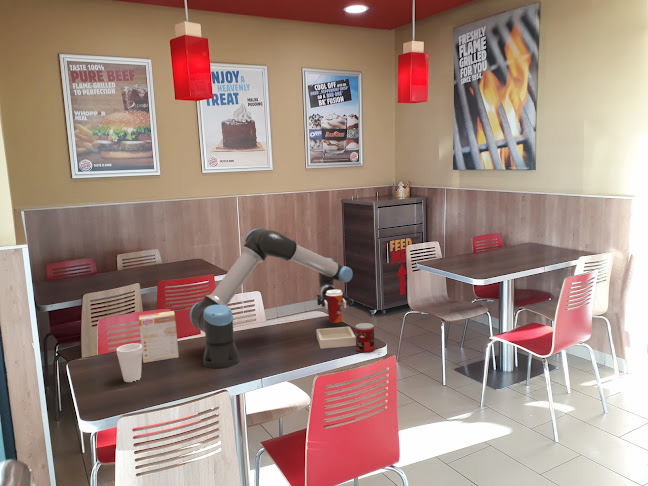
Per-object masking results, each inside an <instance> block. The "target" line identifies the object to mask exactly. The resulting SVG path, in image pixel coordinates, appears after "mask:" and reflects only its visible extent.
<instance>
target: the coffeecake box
mask: <svg viewBox="0 0 648 486" xmlns="http://www.w3.org/2000/svg"><path fill="white" fill-rule="evenodd" d="M176 322H177V320H176V314H175V311H174V310H172V311H171V310H170V311H163V312H156V313H149V314H140V315H139V316H138V323H139V335H140V344H141V345H142V350H143V351H142V363H150V362H156V361H157V362H158V361H164V360H169V359H170V360H171V359H177V358H179V357H180V356H179V346H178V345H179V344H178V332H177V323H176Z"/></svg>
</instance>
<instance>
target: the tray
mask: <svg viewBox="0 0 648 486" xmlns="http://www.w3.org/2000/svg"><path fill="white" fill-rule="evenodd" d="M315 333H316V339H317V341H318V345H319V348H320V349H321V350H322V349H333V348H335V349H336V348H345V347H347V348H348V347H354V346H355V347H356V334H354V333H355V332H354V331H353V330H352V328H351V327H350V326H341V327H340V326H339V327H328V328H325V327H324V328H317V329H316V331H315Z"/></svg>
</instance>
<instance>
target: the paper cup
mask: <svg viewBox="0 0 648 486" xmlns="http://www.w3.org/2000/svg"><path fill="white" fill-rule="evenodd" d="M343 293H344V292H343V291H342V290H341V289H336V290H328V291H327V293H326V295H327V303H328V309H327V312H328V313H327V315H328V321H329V322H330V323H333V324H335V323H336V324H337V323H340V322H342V317H343V315H342V314H343V310H342V309H343V304H342V294H343Z"/></svg>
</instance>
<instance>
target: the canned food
mask: <svg viewBox="0 0 648 486" xmlns="http://www.w3.org/2000/svg"><path fill="white" fill-rule="evenodd" d="M355 337H356V346H355V348H356V351H357V352H358V353H363V354H364V353H366V354H368V353H372V352H373V351H374V350H375V325H374V324H373V323H370V322H365V323H364V322H362V323H361V322H360V323H357V324H356V325H355Z"/></svg>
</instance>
